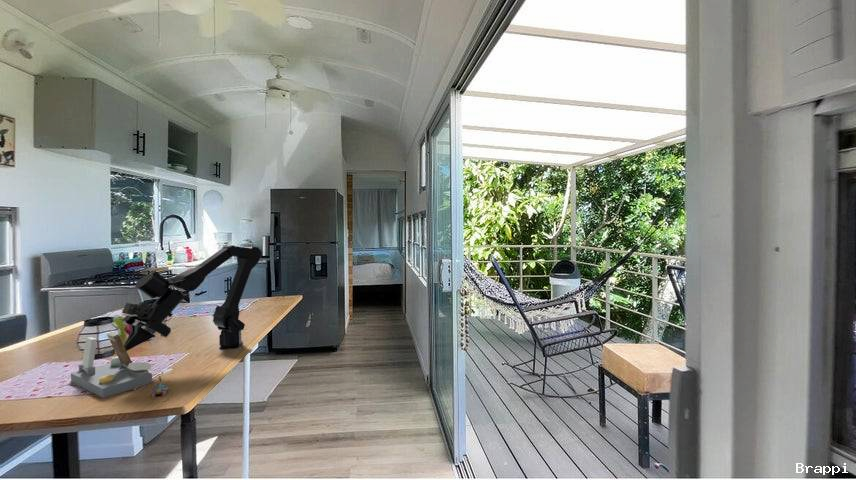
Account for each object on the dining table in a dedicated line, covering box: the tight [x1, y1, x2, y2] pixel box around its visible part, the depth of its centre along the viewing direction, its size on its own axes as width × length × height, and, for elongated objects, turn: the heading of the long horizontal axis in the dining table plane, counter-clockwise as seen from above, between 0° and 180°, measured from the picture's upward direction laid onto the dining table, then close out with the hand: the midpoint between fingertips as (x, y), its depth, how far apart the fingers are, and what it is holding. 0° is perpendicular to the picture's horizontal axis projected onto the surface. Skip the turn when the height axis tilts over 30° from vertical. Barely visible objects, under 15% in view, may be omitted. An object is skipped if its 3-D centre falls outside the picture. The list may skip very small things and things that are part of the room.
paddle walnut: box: [106, 331, 133, 366], centre depth 103 cm, size 1×4×11 cm, turn 61°
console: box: [70, 361, 153, 399], centre depth 102 cm, size 11×22×4 cm, turn 61°
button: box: [110, 355, 120, 366], centre depth 109 cm, size 3×3×2 cm
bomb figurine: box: [150, 375, 169, 399], centre depth 94 cm, size 8×8×6 cm
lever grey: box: [81, 336, 98, 369], centre depth 103 cm, size 1×4×8 cm, turn 61°
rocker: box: [128, 361, 152, 371], centre depth 102 cm, size 4×4×1 cm
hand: (123, 350), depth 104 cm, fingers closed, pressing on paddle walnut
